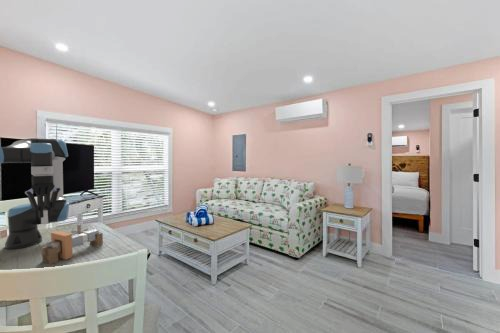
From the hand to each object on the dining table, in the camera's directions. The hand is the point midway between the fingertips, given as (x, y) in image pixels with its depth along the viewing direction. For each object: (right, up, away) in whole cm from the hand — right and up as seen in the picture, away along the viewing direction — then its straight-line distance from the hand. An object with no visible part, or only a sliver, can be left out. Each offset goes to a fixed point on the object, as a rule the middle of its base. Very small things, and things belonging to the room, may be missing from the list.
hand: (44, 223), depth 104 cm
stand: (+4, -19, +13) cm, 23 cm away
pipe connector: (-6, -18, +29) cm, 35 cm away
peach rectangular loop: (+2, -19, +7) cm, 21 cm away
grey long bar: (+5, -15, +13) cm, 20 cm away
